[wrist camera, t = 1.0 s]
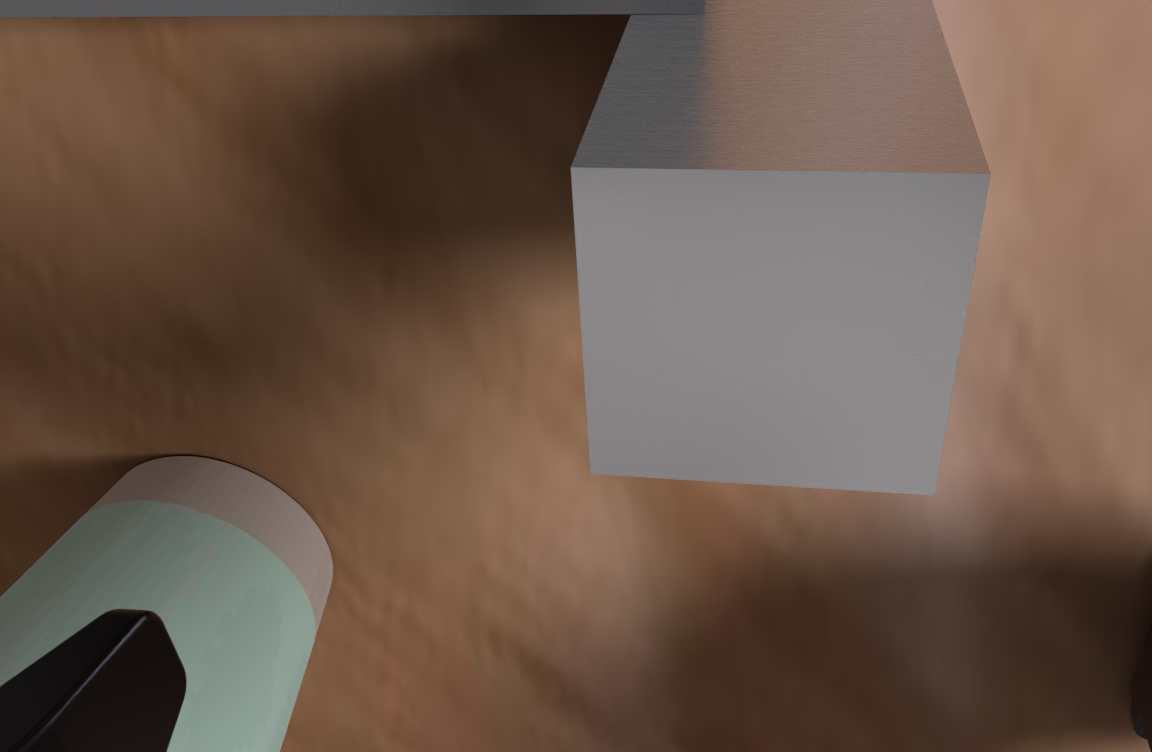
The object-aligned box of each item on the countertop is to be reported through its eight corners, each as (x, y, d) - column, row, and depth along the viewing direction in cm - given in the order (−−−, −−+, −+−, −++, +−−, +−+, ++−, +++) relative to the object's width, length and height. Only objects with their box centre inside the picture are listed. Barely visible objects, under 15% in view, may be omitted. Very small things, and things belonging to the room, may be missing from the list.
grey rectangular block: (914, -49, 17) (991, 174, 10) (887, 190, 19) (933, 496, 12) (654, -45, 17) (569, 167, 11) (657, 186, 20) (590, 473, 13)
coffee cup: (-11, 477, 27) (-455, 962, 17) (230, 355, 23) (-163, 880, 14) (217, 689, 31) (-48, 1186, 21) (455, 610, 27) (267, 1168, 17)
